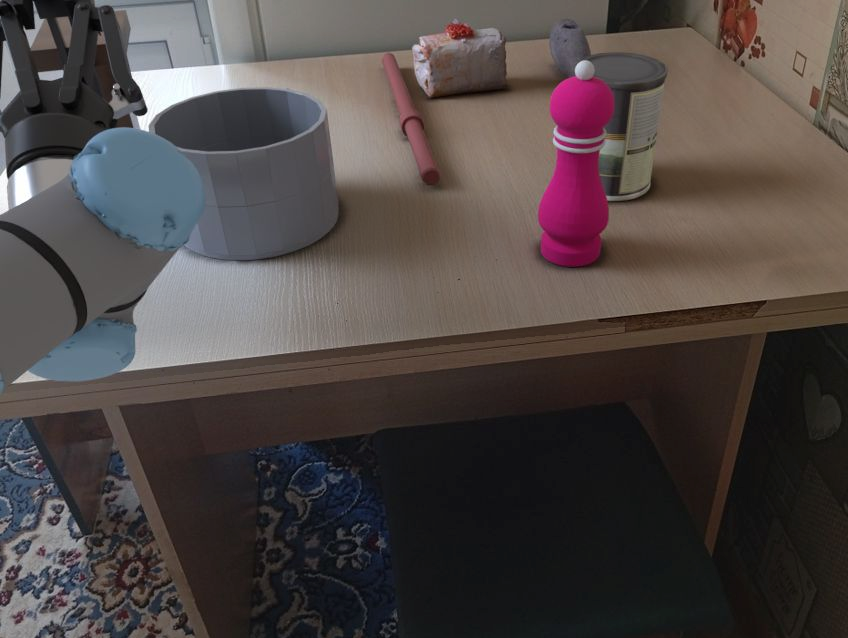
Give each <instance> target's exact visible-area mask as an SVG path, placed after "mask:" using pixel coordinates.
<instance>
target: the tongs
mask: <svg viewBox="0 0 848 638" xmlns="http://www.w3.org/2000/svg"><path fill="white" fill-rule="evenodd" d="M33 5H34V8H35V10H36V12H37V15H38V18H39V20H44V19H47V22H48V25H49V28H50V30H51V33H52V36H53V39H54V42H55V44H56V47H57V50H58V53H59V56H60V58H61V61H62V64H63V67H64V65H65V64H67V62H68V54H69V52H68V49H67V46H66V44H65V41H64V38H63V35H62V32H61V29H60V26H59V23H58V21H57V18H59V17H68V19H69V21H70V24H71V27H72V24H73V20H72V17H71V15H70V13H69V10H68V8H67V5H66V3H65V1H64V0H33ZM92 87H93V91H94V92H95V93H97V94H98V95H99V96H100V97H101V98H103V99H104V100H105V97H104V94H103V91H102V88H101V85H100V82H99V79H98V76H97V73H96V70H95V67H94V75H93V84H92ZM105 101H106V100H105Z"/></svg>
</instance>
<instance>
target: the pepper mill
mask: <svg viewBox="0 0 848 638" xmlns="http://www.w3.org/2000/svg"><path fill="white" fill-rule="evenodd" d="M594 70H595V69H594V66H593V64H592V63H591V62H590V61H587V60H584V61H581V62H579V63H578V64H577V66H576V68H575V75H576V76H574V77H570V78H566V79H564V80H562V81H561V82H560V83H559V84H558V85H557V86H556V87H554V90H553V92H552V94H551V96H550V101H549V114H550V117H551V119H552V121H553V122H554V123H555V125H556V126H555V127H554V128H553V138H552V143H553V145H554V146H555V147H556V162H555V168H554V171H553V174H552V177H551V179H550V181H549V183H548V185H547V187H546V188H545V190H544V192H543V194H542V197H541V199H540V202H539V205H538V212H537V220H538V224H539V226H540V228H541V229H542V231H543V232H542V234H541V238H540V239H541V242H540V253H541V255H542V256H543V258H545V260H547V261H548V262H550V263H552V264H555V265H557V266H562V267H566V268H568V267H569V268H570V267H571V268H576V267H577V268H578V267H584V266H587V265H588V266H589V265H590V264H592V263H594V262H596V261H597V259H598V258H599V257H600V255H601V248H602V237H601V234H602V233H603V232H604V231H605V230H606V228H607V226H608V224H609V217H610V208H609V201H607V197H606V194H605V191H604V188H603V185H602V182H601V179H600V175H599V169H598V165H599V153H600V149H602V148H603V147H604V145H605V136H606V130H605V128H604V126H605V125H606V124H608V122H609V121H610V120H611V118H612V116H613V113H614V97H613V93H612V91H611V89H610V88H609V86H608V85H607V84H606V83H605V82H604V81H602V80H600V79H598V78H595V77H593V75H594Z"/></svg>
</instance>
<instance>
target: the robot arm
mask: <svg viewBox="0 0 848 638" xmlns="http://www.w3.org/2000/svg"><path fill="white" fill-rule="evenodd" d="M64 1H65V3H66V5H67V8H68V10H69V13H70V15H71V17H72V20H73V24H72V31H71V39H70V47H69V54H68V62H67V64H65V65H64V72H63V71H62V72H63V73H62V77H59V78H56V79H53V80H52V79H51V80H48V79H41V78H40V75H39V72H37V68H36V65H35V62H34V59H33V55H32V52H31V49H30V48H31V45H30V43H29V39H28V36H27V33H26V31H30V30H31V31H32V30H36V20H35V5H34V2H33V0H0V98H1V94H2V75H3V60H4V59H3V58H4V42H6V43H7V47H8V50H9V54H10V57H11V61H12V63H13V67H14V75H15V78H16V81H17V84H18V88H19V91H18V92H17V93H16V95H15V96H14V97H13V98H12V100H11V101H10V102H9V103H8V104H7V106H6V107H5V108H4V109H3V110H1V109H0V133H1V134H2V135H3V138H4V151H5V152H4V153H5V170H6V172H5V173H6V178H7V184H6V194H7V205H8V208H7V209H8V210H6V211H4V212H3V213H1V214H0V395H1V394H2V393H3V391H4V390H5V389H7V388H8V387H9V386H10V385H12V384H13V383H14V382H15V381H16V380H18V379H20V377H21V376H23V375H24V374H25V373H26V372H29V373H31V374H32V375H34V376H36V377H38V378H41V379H45V380H49V381H55V382H56V381H57V382H87V381H93V380H99V379H103V378H106V377H110V376H113V375H115V374H118V373H119V372H121V371H123V370H124V369H126V368H127V367H129V365H130V364H131V363H133V360H134V358H135V356H136V333H137V331H138V329H137V328H138V327H137V325H136V324H135V322H134V321H135V320H134V310H135V308H136V306H138V304H139V303H140V301H141V300H142V299H143V298H144V296H145V295H146V293H147V291H148V289H149V287H150V286H151V285H152V284H153V282H154V281H156V278H157V277H158V276H159V275H160V273H162V271H163V270H164V269H165V267H166V266H168V265H167V264H169V262H171V260H172V258H173V257H174V256H175V254H177V252H178V251H179V250H180V249H181V247H184V245H185V244H186V243H187V242H188V241H189V239H190V235H191V233H192V231H193V229H194V227H195V226H196V224H197V222H198V221H199V219H200V217H201V215H202V213H203V210H204V207H205V200H206V196H205V189H204V185H203V181H202V178H201V176H200V174H199V172H198V170H197V169H196V167H195V166H194V164H193V163H192V162H191V161H190V160H189V159H187V157H186V156H185V154H183V153H182V152H180V151H179V149H178V148H177V147H176V146H175V145H173V144H172V143H171V142H169V141H167V140H166V139H164V138H162V137H160V136H158V135H156V134H153V133H151V132H149V130H148V131H147V130H144V129H141V128H140V129H141V130H140V129H136V128H127V127H121V128H116V127H117V123H118V121H117V119H119V118H121V117H123V116H125V115H127V114H129V113H131V112H133V114H134V115H136V116H137V117H143V116H145V115H146V114H147V113H148V106H147V104H146V100H145V97H144V95H143V93H142V90H141V87H140V86H139V85H138V83H137V82H136V81H135V80H134V78H133V75H132V71H131V67H130V63H129V58H128V52H127V53H126V49H125V45H124V40H123V36H122V32H121V29H120V26H119V23H118V21H117V18H116V15H115V12H114V11H115V9H114V8H113V7H112V6H111V5H109V4H105V5H101V6H100V7H96V2H95V0H64ZM25 30H26V31H25ZM101 32H103V34H104V39H105V43H106V48H107V52H108V56H109V61H110V65H111V70H112V73H113V76H114V79H115V81H116V84H114V85H113V90H112V92H111V94H112V100H111V102H109V103H108V102H106V101H105V100H104V99H103V98H101V97H100V96H99V95H98V94H97V93H95V92H94V91H93V87H92V84H93V75H94V66H95V57H96V49H97V40H98V34H99V35H100V36H101Z"/></svg>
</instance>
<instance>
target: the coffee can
mask: <svg viewBox="0 0 848 638" xmlns="http://www.w3.org/2000/svg"><path fill="white" fill-rule="evenodd" d="M584 60H587V61H590V62H591V63H592V64H593V66H594V69H595V70H594V75H593V77H595V78H598V79H600V80H602V81H604V82H605V83H606V84H607V85H608V86H609V88H610V89H611V91H612V93H613V97H614V113H613V116H612V118H611V120H610V121H609V122H608V124H606V125H605V126H604V128H605V130H606V136H605V145H604V147H603V148H602V149H600V153H599V165H598V169H599V175H600V179H601V182H602V185H603V188H604V191H605V194H606V197H607V202H625V201H629V200H630V201H631V200H634V199H637V198H640V197H641V196H643V195H645V194H647V192H648V191H649V190H650V188H651V180H652V173H653V164H654V157H655V152H656V143H657V137H658V131H659V123H660V118H661V117H660V116H661V110H662V103H663V96H664V91H665V82H666V79H667V76H668V72H669V71H668V69H669V68H668V67H667V65H666V64H665V63H664V62H663V61H660V60H659V59H657V58H654V57H651V56H648V55H644V54H639V53H633V52H621V51H620V52H618V51H617V52H616V51H613V52H612V51H611V52H600V53H594V54H591V55H590V56H586V57H584V58H581V59H580V60H578V61H577V62H576V63H575V65H574V74H575V68H576V66H577V64H578V63H579V62H581V61H584ZM575 76H576V75H575Z"/></svg>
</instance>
